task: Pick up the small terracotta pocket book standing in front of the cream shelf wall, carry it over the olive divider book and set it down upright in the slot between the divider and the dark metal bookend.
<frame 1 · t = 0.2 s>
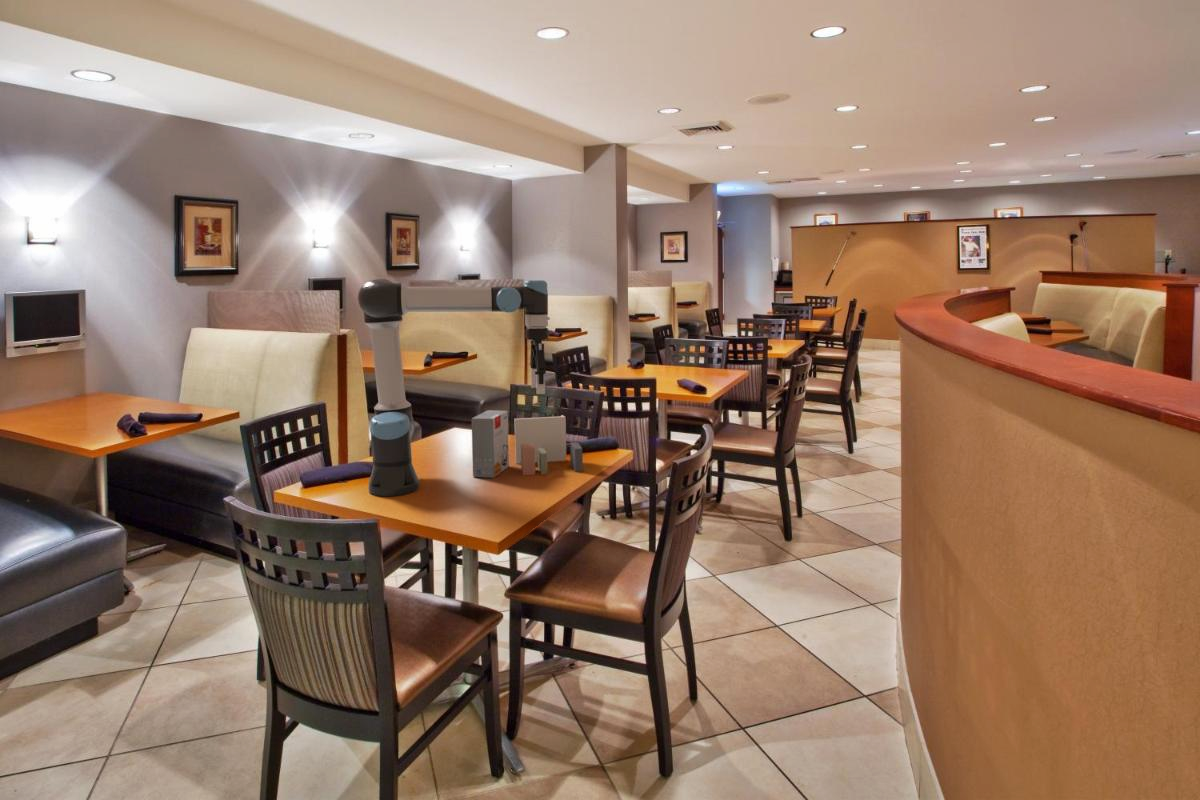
hand: (538, 390, 237), 27 cm above the table, fingers open, 13 cm apart
book: (528, 472, 238), on the table
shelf: (556, 467, 243), on the table
divider book: (542, 470, 239), on the table
hard drive box: (491, 472, 239), on the table
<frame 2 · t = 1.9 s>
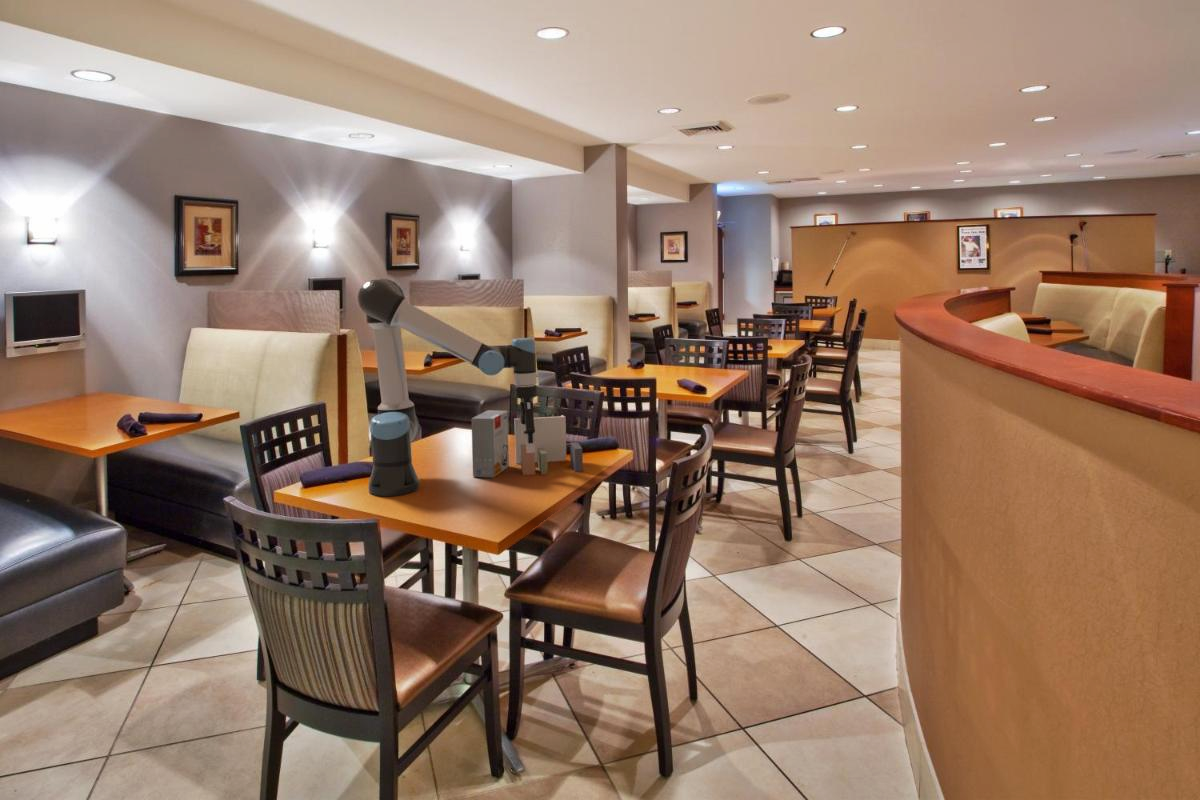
hand: (528, 447, 236), 8 cm above the table, fingers open, 13 cm apart
nothing on the table moved.
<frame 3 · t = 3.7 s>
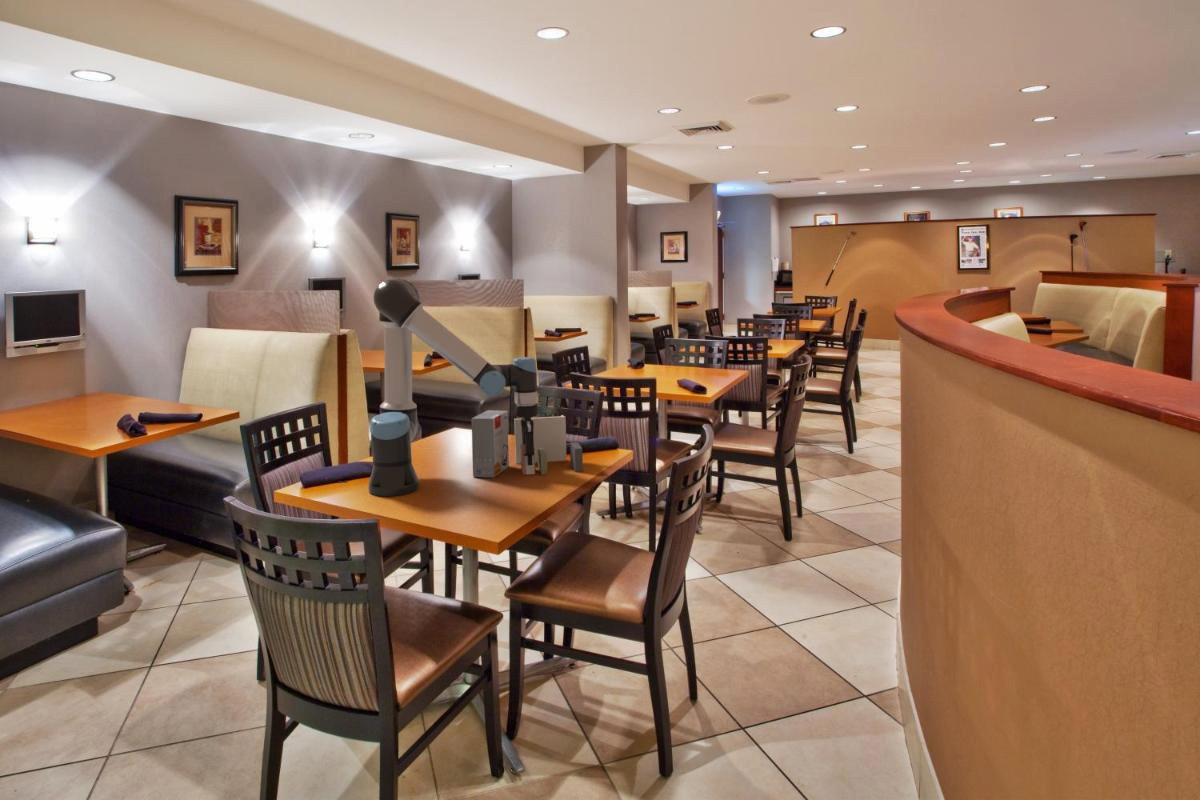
hand: (528, 471, 238), 0 cm above the table, fingers closed on book, 6 cm apart
book: (528, 472, 238), on the table, touching gripper
everything else where it was.
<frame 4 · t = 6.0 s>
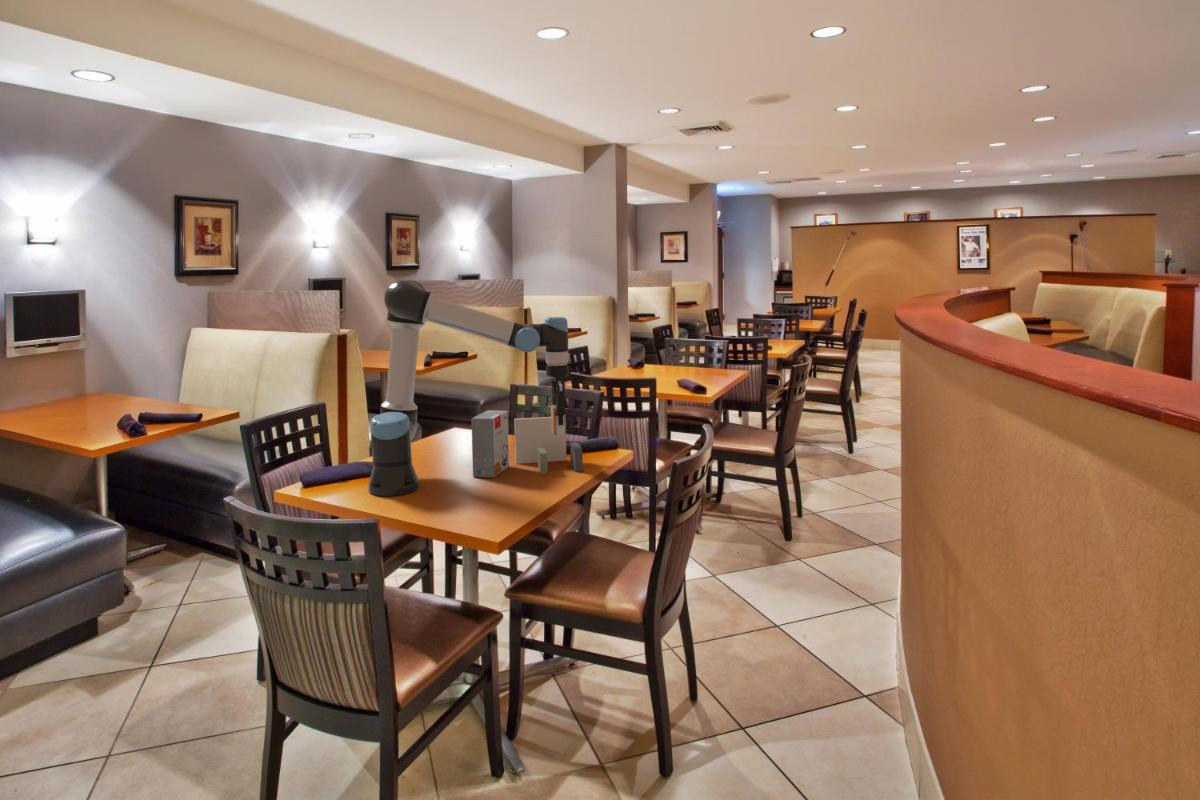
hand: (559, 431, 238), 13 cm above the table, fingers closed on book, 6 cm apart
book: (558, 432, 238), point 13 cm above the table, touching gripper
everything else where it was.
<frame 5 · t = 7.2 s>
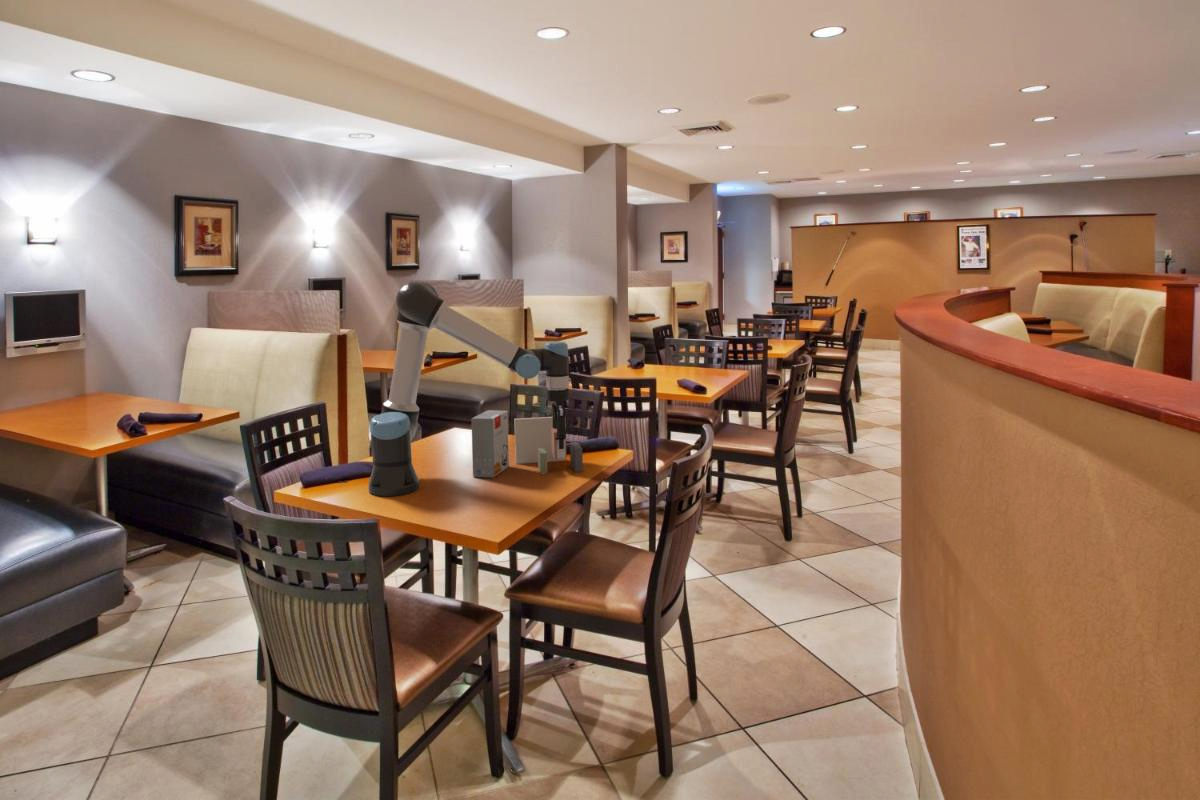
hand: (559, 455, 239), 5 cm above the table, fingers closed on book, 6 cm apart
book: (559, 456, 239), point 5 cm above the table, touching gripper
everything else where it was.
when the fingers open (1 cm above the table, at t = 8.3 s): book drops 1 cm, on the table.
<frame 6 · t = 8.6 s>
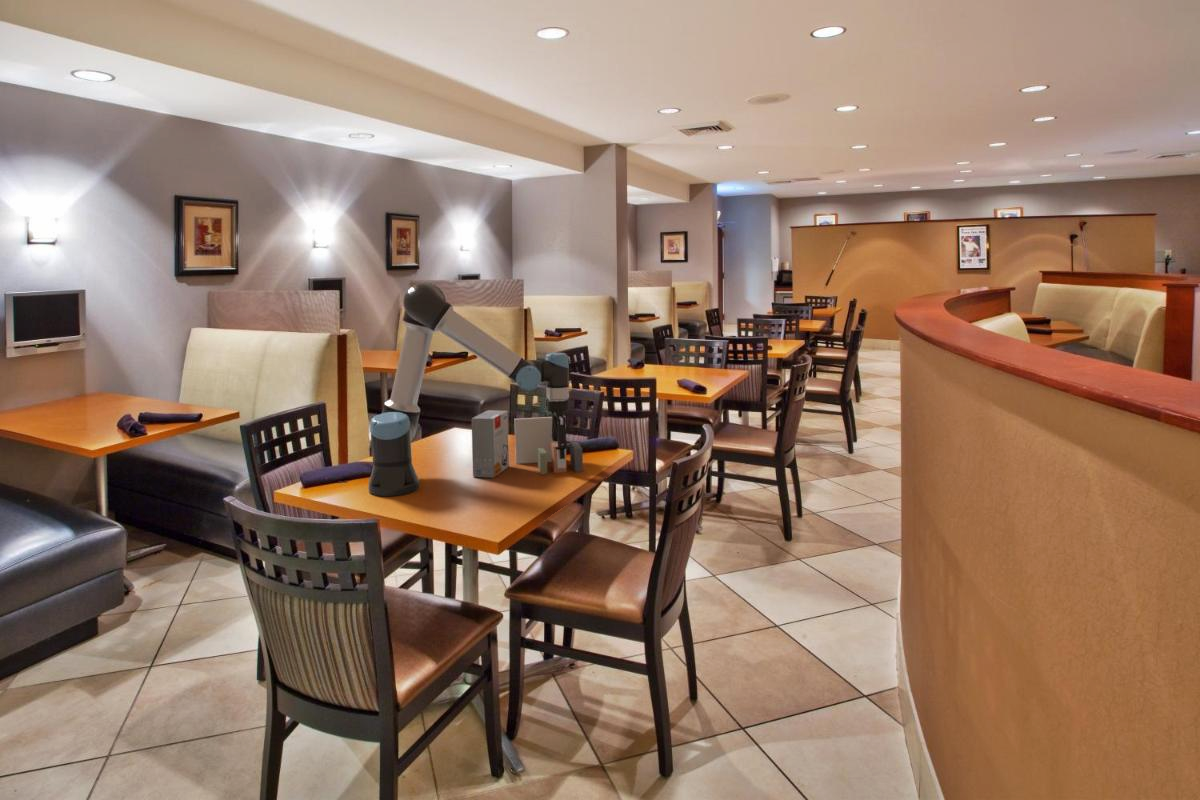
hand: (559, 463, 240), 2 cm above the table, fingers open, 10 cm apart
book: (558, 470, 240), on the table
everything else where it was.
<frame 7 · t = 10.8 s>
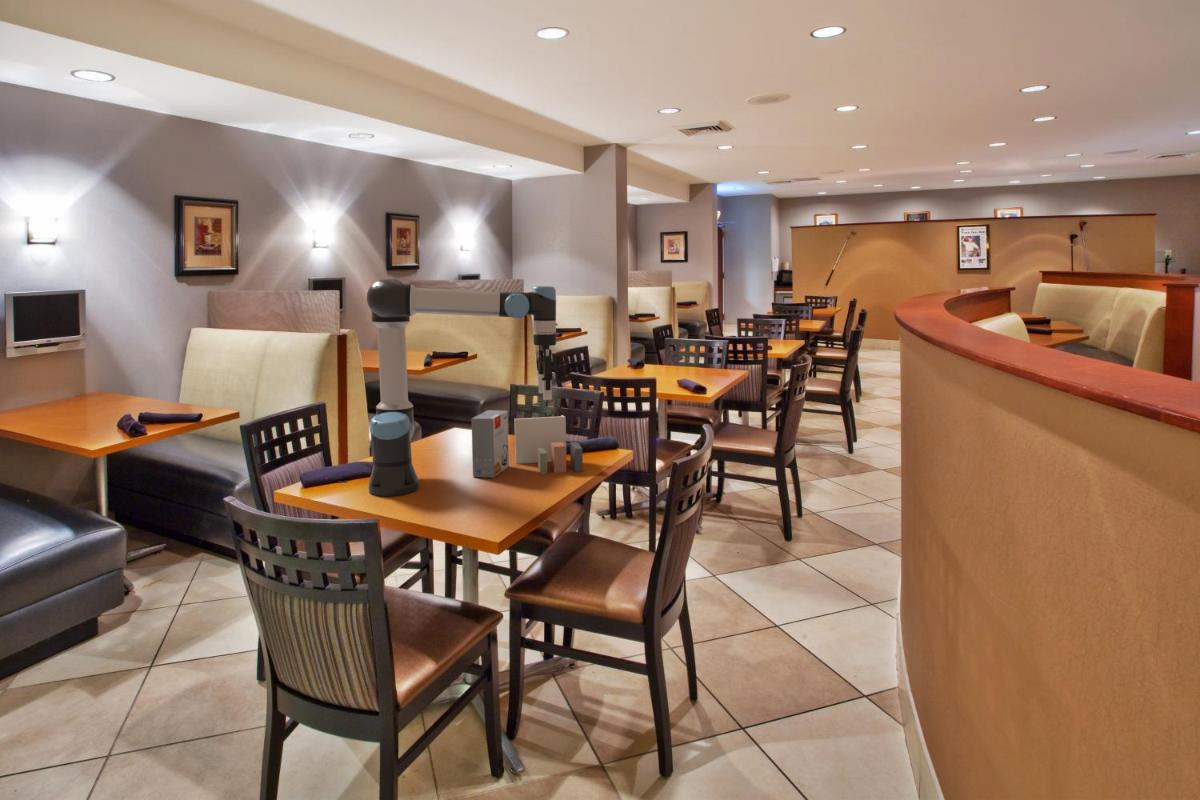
hand: (545, 396, 237), 25 cm above the table, fingers open, 13 cm apart
nothing on the table moved.
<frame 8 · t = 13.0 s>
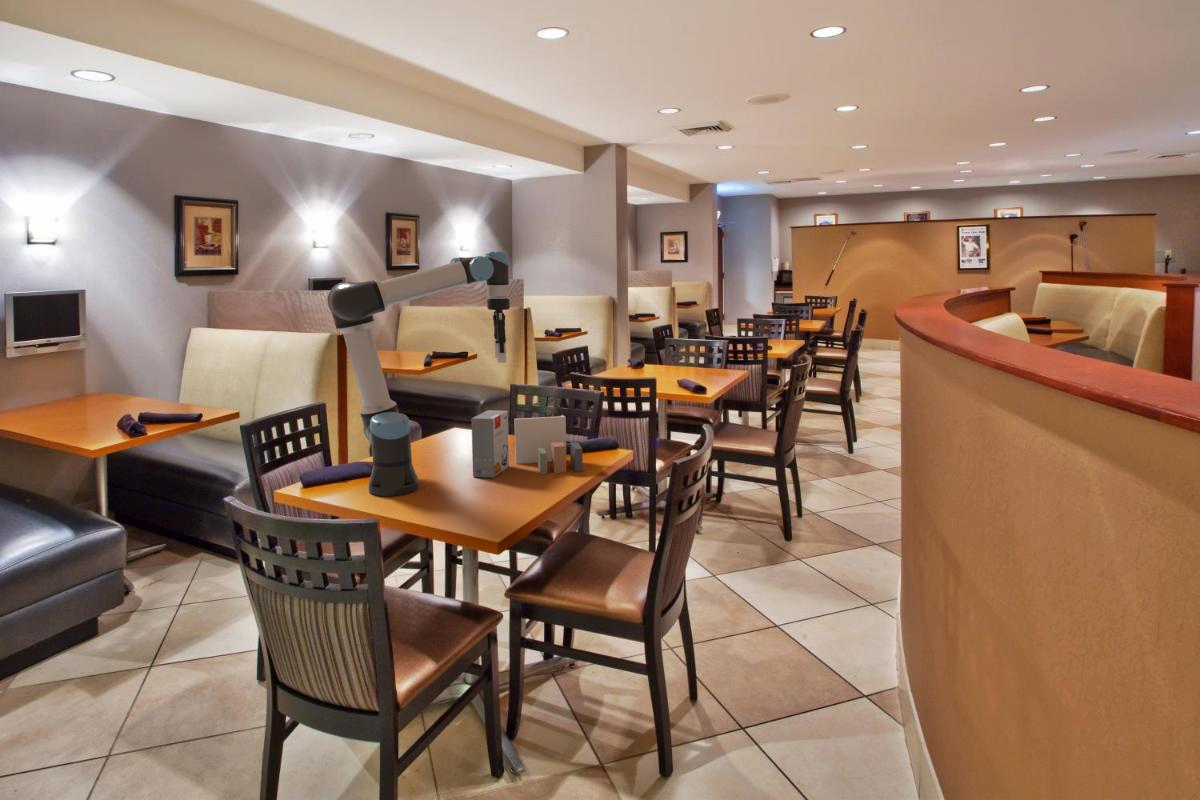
hand: (500, 360, 242), 37 cm above the table, fingers open, 13 cm apart
nothing on the table moved.
at the end: book inside the target area (0.2 cm from its centre), on the table; book tilted 0°; the gripper is holding nothing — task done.
